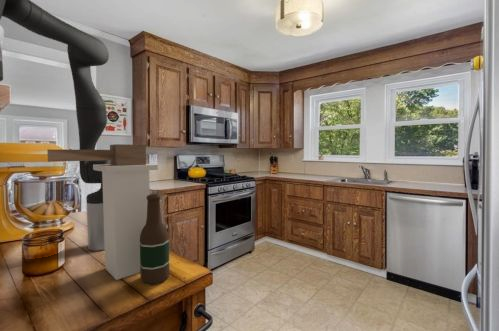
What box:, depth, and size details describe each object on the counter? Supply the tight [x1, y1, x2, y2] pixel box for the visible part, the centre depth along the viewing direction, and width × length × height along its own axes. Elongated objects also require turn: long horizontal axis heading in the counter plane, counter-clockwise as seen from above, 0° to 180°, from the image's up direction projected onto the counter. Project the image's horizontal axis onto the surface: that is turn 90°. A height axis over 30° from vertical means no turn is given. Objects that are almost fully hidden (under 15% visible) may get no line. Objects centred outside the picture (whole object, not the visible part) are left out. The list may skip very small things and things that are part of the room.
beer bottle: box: [139, 193, 170, 286], centre depth 72 cm, size 8×8×24 cm
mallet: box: [47, 143, 147, 166], centre depth 72 cm, size 8×23×6 cm, turn 131°
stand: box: [93, 163, 159, 281], centre depth 78 cm, size 13×14×32 cm
